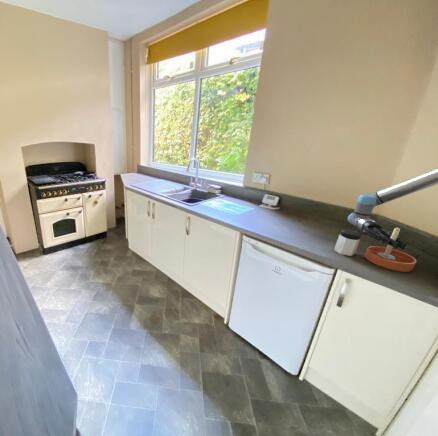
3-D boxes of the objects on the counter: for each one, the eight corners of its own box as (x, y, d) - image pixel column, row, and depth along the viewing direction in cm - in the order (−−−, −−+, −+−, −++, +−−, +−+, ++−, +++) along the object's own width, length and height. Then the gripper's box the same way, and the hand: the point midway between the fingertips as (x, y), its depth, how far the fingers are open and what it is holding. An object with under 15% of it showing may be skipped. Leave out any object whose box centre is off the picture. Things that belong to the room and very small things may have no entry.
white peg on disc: (391, 260, 118) (406, 227, 111) (393, 265, 113) (408, 231, 107) (374, 256, 122) (387, 224, 115) (375, 261, 117) (389, 227, 111)
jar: (330, 248, 132) (337, 228, 127) (344, 248, 132) (351, 228, 127) (343, 256, 123) (351, 235, 119) (358, 256, 124) (366, 235, 119)
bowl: (408, 262, 119) (412, 253, 117) (415, 277, 106) (420, 268, 104) (363, 251, 129) (366, 243, 127) (364, 264, 116) (368, 255, 115)
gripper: (383, 234, 129) (417, 255, 108) (351, 231, 133) (378, 251, 111) (388, 222, 127) (424, 240, 105) (355, 219, 130) (384, 236, 109)
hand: (400, 246), depth 108 cm, fingers closed on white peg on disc, 2 cm apart
